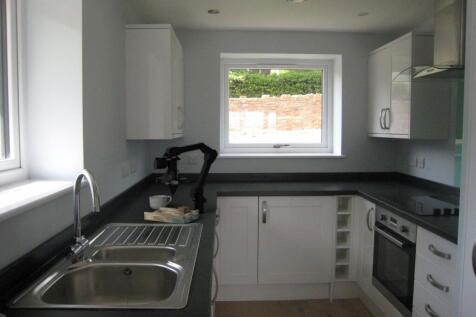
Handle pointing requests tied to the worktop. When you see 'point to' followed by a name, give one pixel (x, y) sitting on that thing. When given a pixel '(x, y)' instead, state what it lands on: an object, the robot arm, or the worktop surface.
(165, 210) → the track
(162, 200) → the teacup
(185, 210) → the walnut block
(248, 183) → the worktop surface
